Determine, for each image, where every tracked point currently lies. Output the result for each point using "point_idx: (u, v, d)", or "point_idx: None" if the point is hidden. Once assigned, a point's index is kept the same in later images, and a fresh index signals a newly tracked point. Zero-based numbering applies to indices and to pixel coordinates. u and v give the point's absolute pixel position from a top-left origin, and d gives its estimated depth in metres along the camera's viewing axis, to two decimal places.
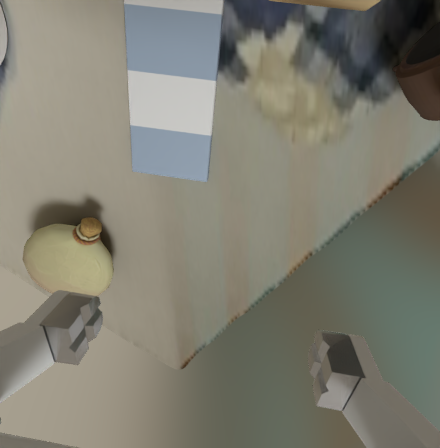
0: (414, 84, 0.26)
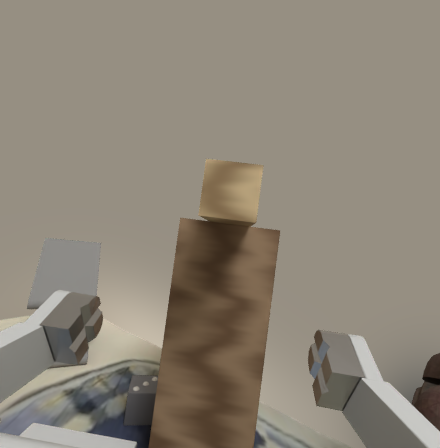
0: None
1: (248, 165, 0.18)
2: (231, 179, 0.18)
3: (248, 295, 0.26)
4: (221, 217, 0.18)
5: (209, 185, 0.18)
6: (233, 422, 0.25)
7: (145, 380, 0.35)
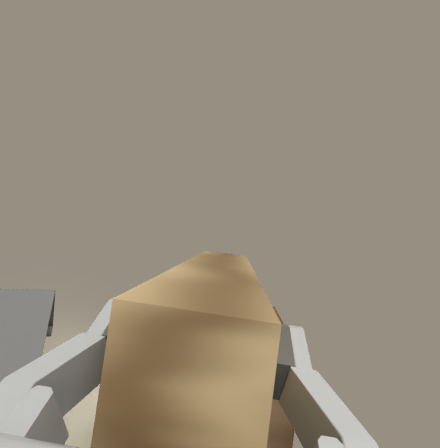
0: None
1: (236, 322, 0.06)
2: (185, 364, 0.06)
3: None
4: None
5: (121, 379, 0.06)
6: None
7: None
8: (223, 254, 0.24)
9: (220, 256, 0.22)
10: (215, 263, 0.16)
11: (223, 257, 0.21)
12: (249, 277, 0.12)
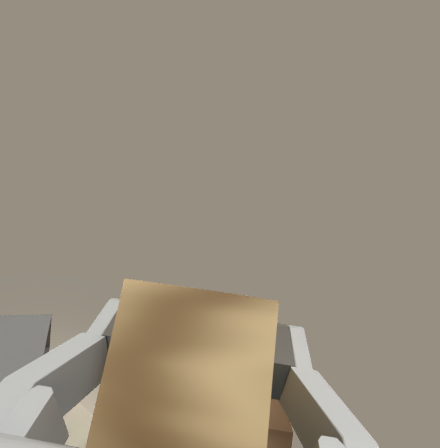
0: None
1: (237, 300, 0.07)
2: (189, 340, 0.06)
3: None
4: None
5: (126, 357, 0.06)
6: None
7: None
8: None
9: None
10: None
11: None
12: None
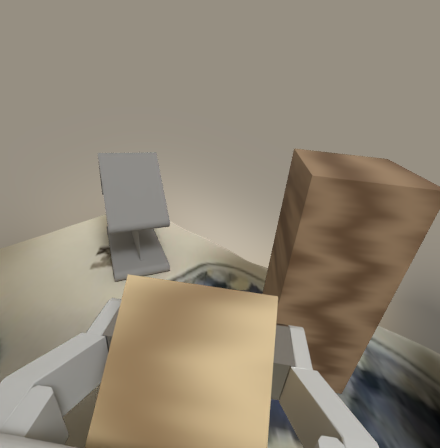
0: None
1: (238, 295, 0.07)
2: (191, 335, 0.07)
3: (382, 260, 0.23)
4: None
5: (128, 352, 0.06)
6: (341, 352, 0.28)
7: None
8: None
9: None
10: None
11: None
12: None
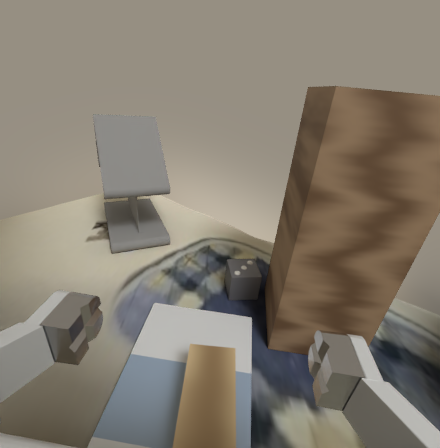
0: None
1: None
2: None
3: (414, 195, 0.20)
4: None
5: None
6: (361, 313, 0.25)
7: (241, 264, 0.36)
8: (209, 363, 0.21)
9: (204, 396, 0.19)
10: None
11: (207, 405, 0.19)
12: None
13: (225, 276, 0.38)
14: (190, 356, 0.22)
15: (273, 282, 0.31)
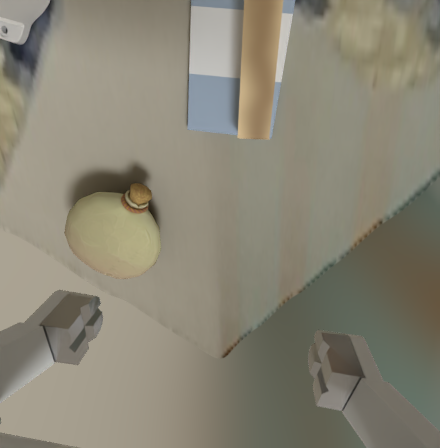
0: None
1: (261, 138, 0.33)
2: None
3: None
4: None
5: None
6: None
7: None
8: None
9: None
10: (257, 41, 0.29)
11: None
12: (271, 81, 0.30)
13: None
14: None
15: None
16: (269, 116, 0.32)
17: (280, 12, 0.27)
